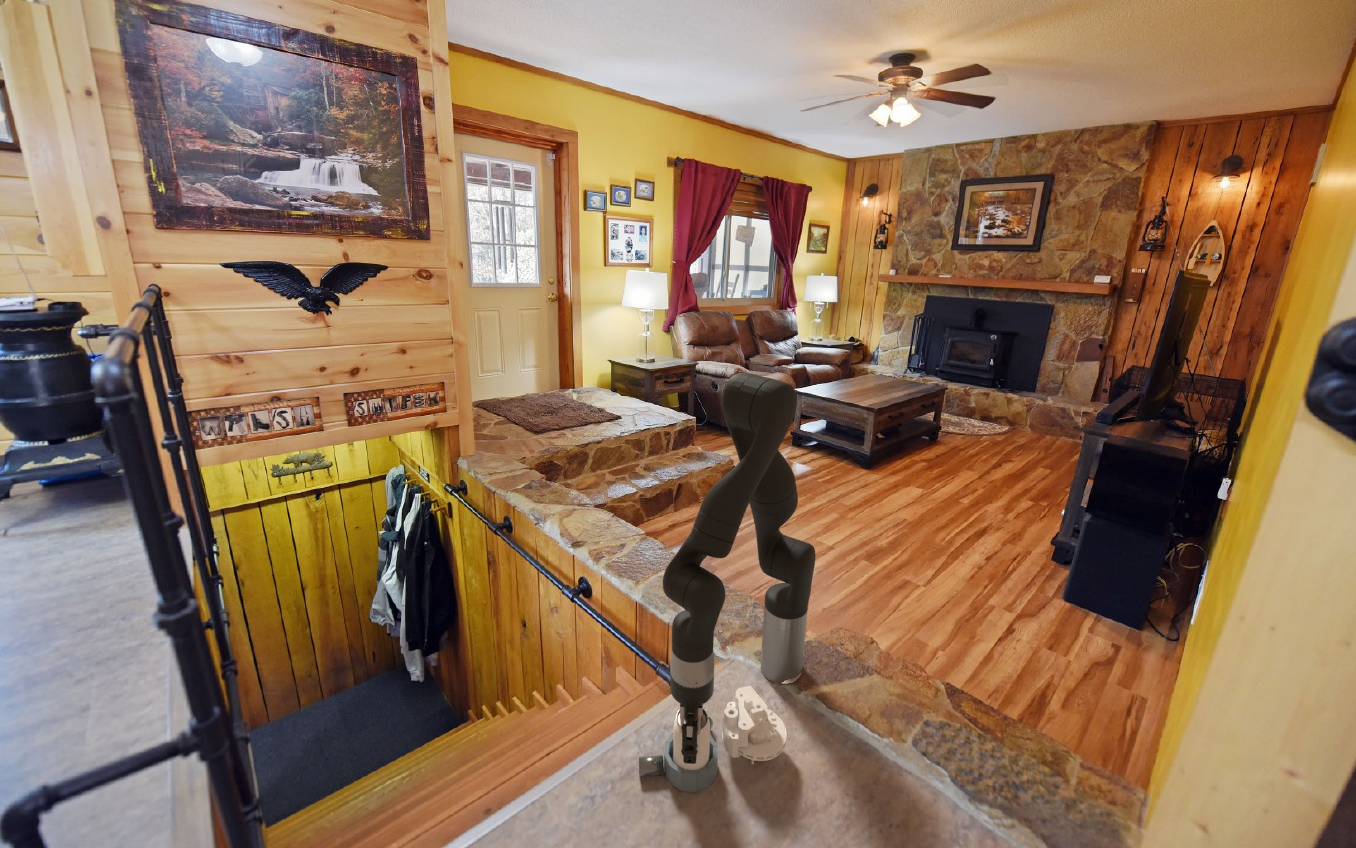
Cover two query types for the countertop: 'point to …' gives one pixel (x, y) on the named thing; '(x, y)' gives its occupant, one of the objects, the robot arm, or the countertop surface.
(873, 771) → the countertop surface
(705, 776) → the collar
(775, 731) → the mechanical part
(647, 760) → the shaft
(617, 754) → the countertop surface
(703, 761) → the can
